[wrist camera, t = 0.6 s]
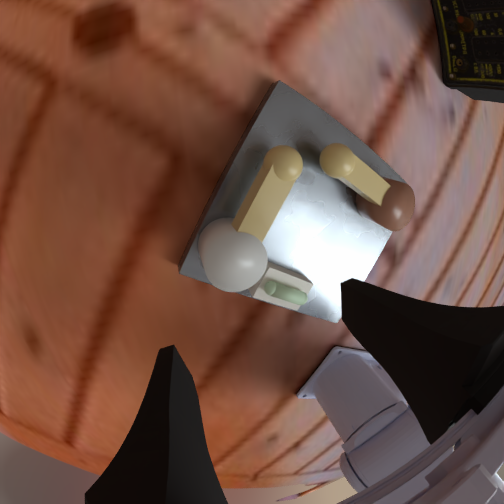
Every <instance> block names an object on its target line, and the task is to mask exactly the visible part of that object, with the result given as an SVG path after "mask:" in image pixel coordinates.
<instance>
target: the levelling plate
mask: <svg viewBox="0 0 504 504" xmlns="http://www.w3.org/2000/svg"><path fill="white" fill-rule="evenodd" d="M332 143H341V144H344V145H346V146H347V147H348V148H350V150H351V151H352V152H353V154H354V155H355V156H357V157H358V158H359V159H360V160H362V161H363V162H364V163H365V164H366V165H368V166H369V167H370V168H371V169H372V170H373V171H375V172H376V173H377V174H378V175H379V176H382V177H386V178H389V179H393V180H396V181H400V182H403V183H406V182H405V181H404V180H403V179H402V178H401V177H400V176H399V175H398V174H397V173H396V172H395V171H394V170H393V169H392V168H391V167H390V166H389V165H388V164H387V163H386V162H384V161H383V160H382V159H381V158H380V157H379V156H378V155H377V154H376V153H375V152H374V151H372V150H371V149H370V148H369V147H368V146H367V145H366V144H364V143H363V142H362V141H361V140H360V139H359V138H357V137H356V136H355V135H354V134H353V133H351V132H350V131H349V130H348V129H347V128H345V127H344V126H343V125H342V124H340V123H339V122H338V121H336V120H335V119H334V118H333V117H331V116H330V115H329V114H327V113H326V112H325V111H323V110H322V109H321V108H319V107H318V106H317V105H315V104H314V103H312V102H311V101H310V100H308V99H307V98H305V97H304V96H302V95H301V94H300V93H298V92H297V91H295V90H294V89H292V88H291V87H289V86H288V85H286V84H284V83H283V82H281V81H280V80H279V81H277V82H275V83H273V84H272V85H271V87H270V89H269V90H268V92H267V94H266V95H265V97H264V99H263V100H262V102H261V104H260V106H259V107H258V109H257V111H256V112H255V114H254V116H253V118H252V120H251V121H250V123H249V125H248V127H247V128H246V130H245V132H244V134H243V136H242V137H241V139H240V141H239V143H238V145H237V147H236V148H235V150H234V152H233V154H232V156H231V158H230V160H229V162H228V163H227V165H226V167H225V169H224V171H223V173H222V175H221V177H220V179H219V181H218V183H217V185H216V187H215V189H214V191H213V193H212V195H211V197H210V199H209V201H208V203H207V205H206V207H205V209H204V211H203V213H202V215H201V217H200V219H199V221H198V223H197V225H196V228H195V230H194V232H193V234H192V236H191V238H190V240H189V242H188V245H187V247H186V249H185V251H184V253H183V256H182V258H181V260H180V262H179V265H178V269H179V274H182V275H185V276H188V277H191V278H194V279H196V280H199V281H202V282H205V283H208V284H211V285H212V283H211V282H210V281H209V280H208V278H207V276H206V273H205V270H204V267H203V264H202V261H201V258H200V254H199V251H198V240H199V237H200V234H201V232H202V231H203V229H204V228H205V227H206V226H207V225H208V224H209V223H211V222H212V221H214V220H217V219H220V218H227V217H228V218H235V216H236V214H237V212H238V210H239V208H240V206H241V205H242V203H243V201H244V199H245V197H246V195H247V193H248V191H249V189H250V187H251V185H252V184H253V182H254V180H255V178H256V176H257V174H258V172H259V170H260V169H261V167H262V165H263V161H264V157H265V155H266V153H267V152H268V151H269V150H270V149H272V148H273V147H275V146H279V145H287V146H290V147H292V148H294V149H295V150H297V151H298V153H299V154H300V155H301V158H302V161H303V169H302V172H301V174H300V176H299V177H298V178H297V179H296V181H295V183H294V185H293V187H292V188H291V190H290V192H289V194H288V196H287V198H286V200H285V201H284V203H283V205H282V207H281V209H280V211H279V213H278V214H277V216H276V218H275V220H274V222H273V224H272V225H271V227H270V229H269V231H268V233H267V235H266V237H265V238H264V240H263V242H262V244H263V245H264V247H265V249H266V251H267V256H268V262H271V263H273V264H276V265H278V266H280V267H283V268H285V269H288V270H290V271H293V272H295V273H298V274H300V275H303V276H305V277H307V278H308V279H309V280H310V281H311V282H312V283H313V284H314V285H313V287H312V288H311V290H310V291H309V293H308V295H307V297H308V300H307V302H306V303H305V304H304V305H301V306H300V307H299V309H298V311H296V310H293V309H290V310H293V311H296V312H300V313H303V314H307V315H310V316H313V317H317V318H320V319H324V320H327V321H331V322H335V323H337V322H338V321H339V319H340V318H341V316H342V313H341V285H340V283H341V282H344V281H346V280H348V279H351V278H354V279H358V280H361V281H364V280H365V279H366V277H367V275H368V274H369V272H370V270H371V269H372V267H373V265H374V264H375V262H376V260H377V258H378V257H379V255H380V253H381V251H382V250H383V248H384V246H385V244H386V242H387V241H388V239H389V237H390V235H391V233H392V231H390V230H388V229H386V228H384V227H382V226H380V225H378V224H376V223H374V222H372V221H370V220H368V219H366V218H364V217H363V216H361V214H360V213H359V212H358V209H357V206H356V195H357V192H355V191H354V190H353V189H351V188H350V187H349V186H347V185H346V184H344V183H343V182H342V181H340V180H339V179H337V178H332V177H330V176H328V175H327V174H326V173H325V172H324V171H323V170H322V168H321V166H320V160H319V159H320V154H321V152H322V150H323V149H324V148H325V147H326V146H327V145H329V144H332ZM406 184H407V183H406ZM412 190H413V189H412ZM235 293H238V294H241V295H244V296H248V297H251V298H254V297H252V295H251V293H250V292H249V290H248V289H246V290H243V291H239V292H235ZM254 299H257V298H254ZM257 300H260V299H257ZM260 301H263V300H260ZM263 302H266V301H263ZM267 303H270V302H267ZM270 304H273V303H270ZM273 305H276V304H273ZM276 306H279V305H276ZM280 307H283V306H280ZM283 308H286V307H283ZM286 309H289V308H286Z"/></svg>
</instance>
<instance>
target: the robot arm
mask: <svg viewBox="0 0 504 504" xmlns="http://www.w3.org/2000/svg"><path fill="white" fill-rule="evenodd" d="M340 285H341V313H342V320H343V322H344V323H345V325H346V326H347V328H348V329H349V330H350V332H351V333H352V335H353V336H354V337H355V338H356V339H357V340H358V341H359V343H360V344H361V345H362V346H363V347H364V348H365V349H366V350H367V351H368V352H367V351H361V350H355V349H350V348H344V347H339V346H336V347H334V348H333V349H332V350H331V352H330V353H329V354H328V356H327V357H326V358H325V360H324V361H323V362H322V363H321V365H320V366H319V367H318V369H317V370H316V371H315V372H314V374H313V375H312V376H311V377H310V379H309V380H308V381H307V382H306V384H305V385H304V386H303V387H302V388H301V390H300V391H299V392H298V393H297V395H296V396H297V397H298V398H305V399H317V400H318V402H319V404H320V405H321V407H322V408H323V410H324V412H325V413H326V415H327V416H328V418H329V420H330V421H331V423H332V424H333V426H334V428H335V429H336V431H337V432H338V434H339V435H340V437H341V439H342V440H343V442H344V444H343V445H342V448H343V449H344V451H345V452H344V453H342V454H341V456H340V467H341V470H342V472H343V474H344V476H345V477H346V479H347V481H348V482H349V483H350V485H351V486H352V487H353V488H354V489H355V490H356V491H357V492H358V493H357V494H355V495H353V496H351V497H349V498H347V499H345V500H343V501H341V502H339V503H337V504H504V482H503V481H502V480H501V478H500V477H499V476H498V475H497V473H496V472H497V471H498V470H499V468H500V467H501V466H502V464H503V463H504V306H497V307H457V306H448V305H441V304H436V303H431V302H426V301H422V300H418V299H414V298H411V297H407V296H404V295H401V294H398V293H395V292H392V291H389V290H386V289H383V288H380V287H377V286H375V285H372V284H369V283H366V282H364V281H361V280H358V279H354V278H351V279H348V280H346V281H344V282H341V283H340ZM406 401H407V403H408V405H406ZM454 444H455V446H454V451H453V447H452V446H453V445H454ZM85 504H228V502H227V500H226V498H225V496H224V493H223V491H222V488H221V486H220V483H219V481H218V478H217V475H216V473H215V470H214V467H213V464H212V461H211V458H210V455H209V452H208V448H207V444H206V439H205V434H204V428H203V423H202V417H201V411H200V405H199V399H198V395H197V391H196V388H195V384H194V381H193V377H192V375H191V373H190V372H189V370H188V368H187V367H186V365H185V363H184V362H183V360H182V358H181V356H180V355H179V353H178V351H177V349H176V347H175V346H174V345H171V346H168V347H165V348H161V349H160V350H159V352H158V355H157V359H156V362H155V365H154V369H153V372H152V375H151V378H150V381H149V384H148V387H147V390H146V393H145V396H144V399H143V401H142V404H141V406H140V409H139V411H138V414H137V416H136V418H135V421H134V423H133V425H132V427H131V429H130V431H129V433H128V435H127V437H126V438H125V440H124V442H123V444H122V446H121V447H120V449H119V451H118V452H117V454H116V455H115V457H114V458H113V460H112V461H111V463H110V464H109V466H108V467H107V468H106V470H105V471H104V472H103V474H102V475H101V476H100V477H99V479H98V480H97V481H96V482H95V483H94V484H93V485H92V486H91V488H90V489H89V490H88V491H87V492H86V493H85Z"/></svg>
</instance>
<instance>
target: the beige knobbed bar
mask: <svg viewBox="0 0 504 504" xmlns="http://www.w3.org/2000/svg"><path fill="white" fill-rule="evenodd" d="M319 160H320V166H321V168H322V170H323V171H324V172H325V173H326V174H327V175H328V176H330V177H332V178H337V179H339V180H340V181H342V182H343V183H344V184H346V185H347V186H349V187H350V188H351V189H353V190H354V191H355V192H357V195H356V206H357V209H358V212H359V213H360V214H361V216H363V217H364V218H366V219H368V220H370V221H372V222H374V223H376V224H378V225H380V226H382V227H384V228H386V229H388V230H390V231H399V230H401V229H403V228H404V227H405V226H406V225H407V224H408V223H409V221H410V219H411V217H412V215H413V212H414V208H415V196H414V192H413V190H412V188H411V187H410V186H409V185H408V184H406V183H403V182H400V181H396V180H393V179H389V178H386V177H382V176H379V175H378V174H377V173H376V172H375V171H373V170H372V169H371V168H370V167H369V166H368V165H366V164H365V163H364V162H363V161H362V160H360V159H359V158H358V157H357V156H355V155H354V154H353V152H352V151H351V150H350V148H348V147H347V146H346V145H344V144H341V143H332V144H329V145H327V146H326V147H325V148H324V149H323V150H322V152H321V154H320V159H319Z"/></svg>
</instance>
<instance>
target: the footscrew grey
mask: <svg viewBox="0 0 504 504" xmlns="http://www.w3.org/2000/svg"><path fill="white" fill-rule="evenodd" d="M302 169H303V161H302V158H301V155H300V154H299V153H298V151H297V150H295V149H294V148H292V147H290V146H287V145H279V146H275V147H273V148H272V149H270V150H269V151H268V152H267V153H266V155H265V157H264V161H263V165H262V167H261V169H260V170H259V172H258V174H257V176H256V178H255V180H254V182H253V184H252V185H251V187H250V189H249V191H248V193H247V195H246V197H245V199H244V201H243V203H242V205H241V206H240V208H239V210H238V212H237V214H236V216H235V218H228V217H227V218H220V219H217V220H214V221H212V222H211V223H209V224H208V225H207V226H206V227H205V228H204V229H203V231H202V232H201V234H200V237H199V240H198V251H199V254H200V258H201V261H202V264H203V267H204V270H205V273H206V276H207V278H208V280H209V281H210V282H211V283H212V285H214V286H215V287H216V288H218V289H220V290H223V291H226V292H239V291H243V290H246V289H248V288H250V287H251V286H253V285H254V284H256V283H257V282H258V281H259V280H260V278H261V277H262V276H263V274H264V272H265V270H266V267H267V262H268V256H267V251H266V249H265V247H264V245H263V244H262V242H263V240H264V238H265V237H266V235H267V233H268V231H269V229H270V227H271V225H272V224H273V222H274V220H275V218H276V216H277V214H278V213H279V211H280V209H281V207H282V205H283V203H284V201H285V200H286V198H287V196H288V194H289V192H290V190H291V188H292V187H293V185H294V183H295V181H296V179H297V178H298V177H299V176H300V174H301V172H302Z"/></svg>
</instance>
